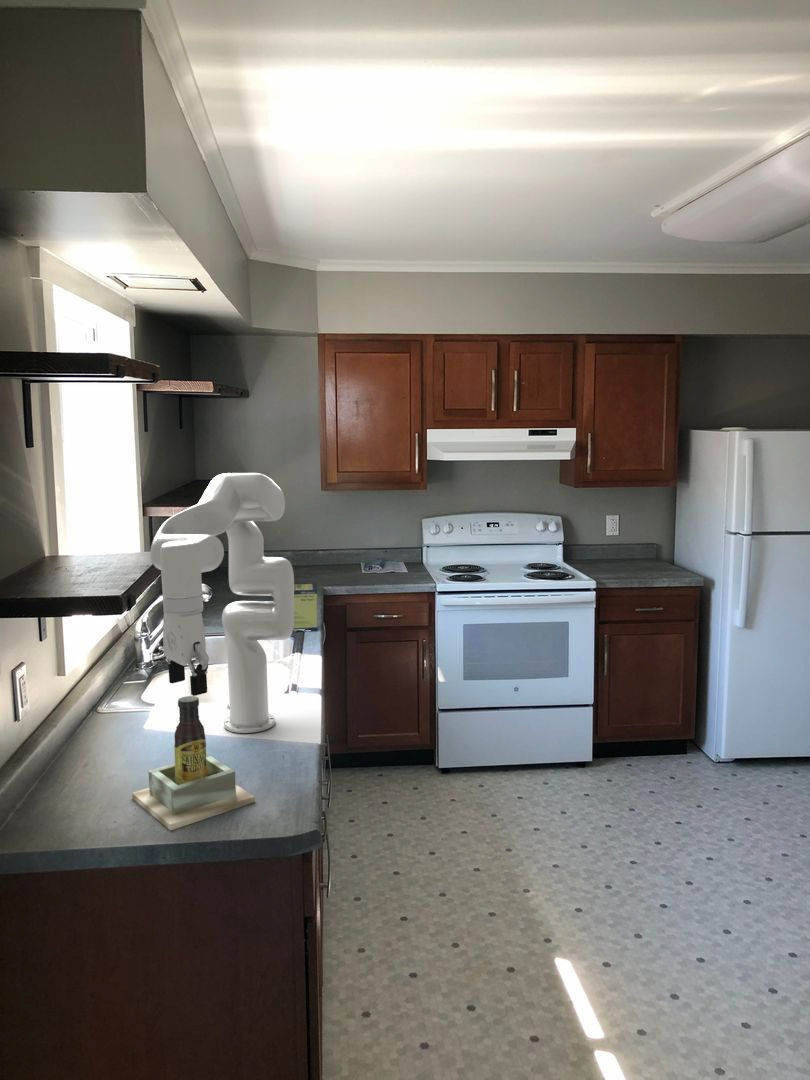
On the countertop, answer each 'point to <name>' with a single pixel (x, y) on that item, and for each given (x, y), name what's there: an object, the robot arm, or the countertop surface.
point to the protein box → (305, 607)
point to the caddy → (191, 795)
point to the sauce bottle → (189, 743)
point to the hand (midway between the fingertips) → (188, 687)
